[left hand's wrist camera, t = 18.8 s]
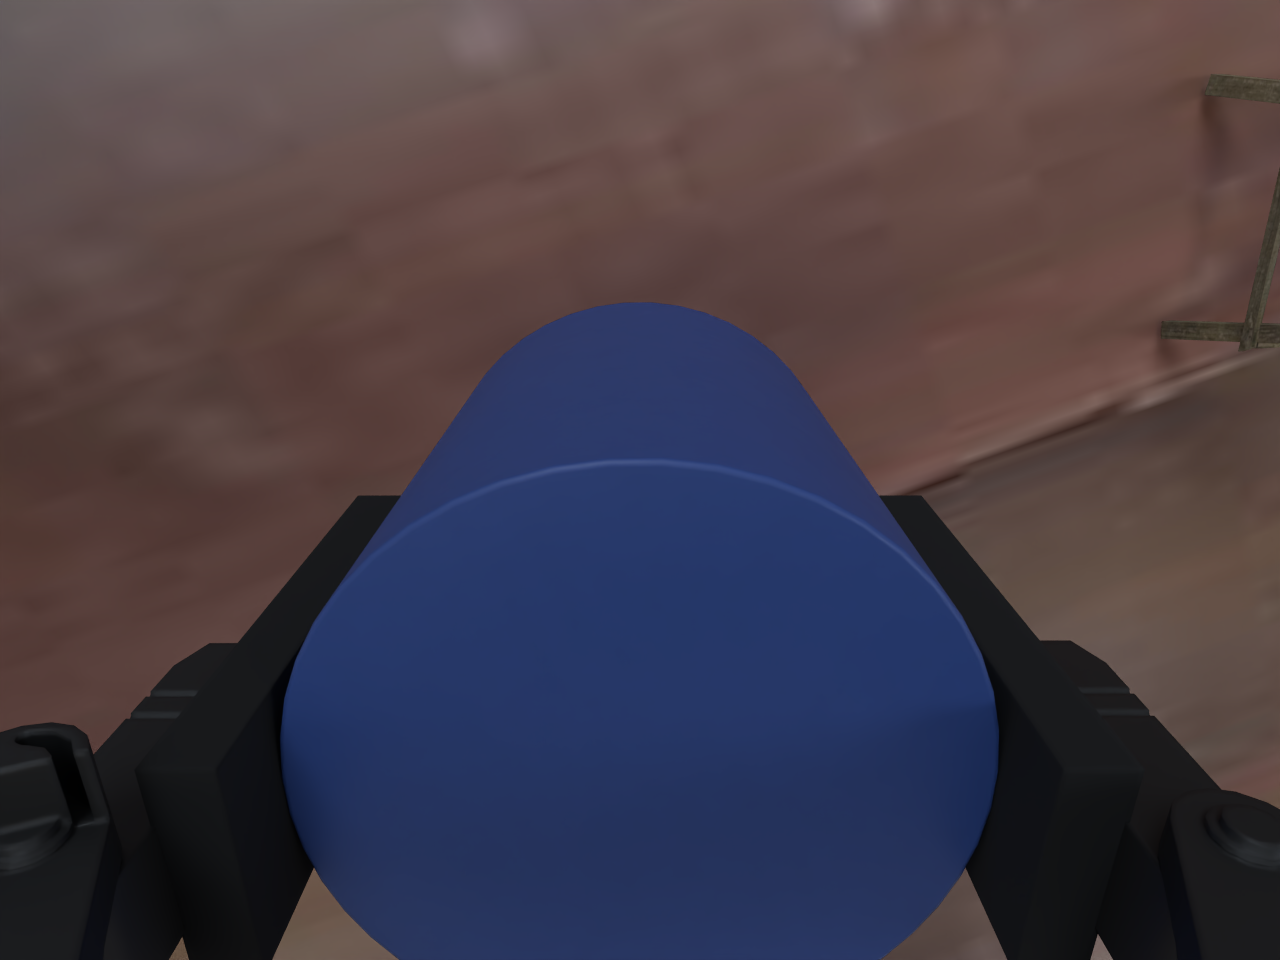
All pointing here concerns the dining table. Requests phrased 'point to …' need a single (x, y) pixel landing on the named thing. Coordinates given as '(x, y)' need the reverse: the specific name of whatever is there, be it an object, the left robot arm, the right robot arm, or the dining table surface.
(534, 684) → the can
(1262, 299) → the miniature windmill
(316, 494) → the dining table surface
